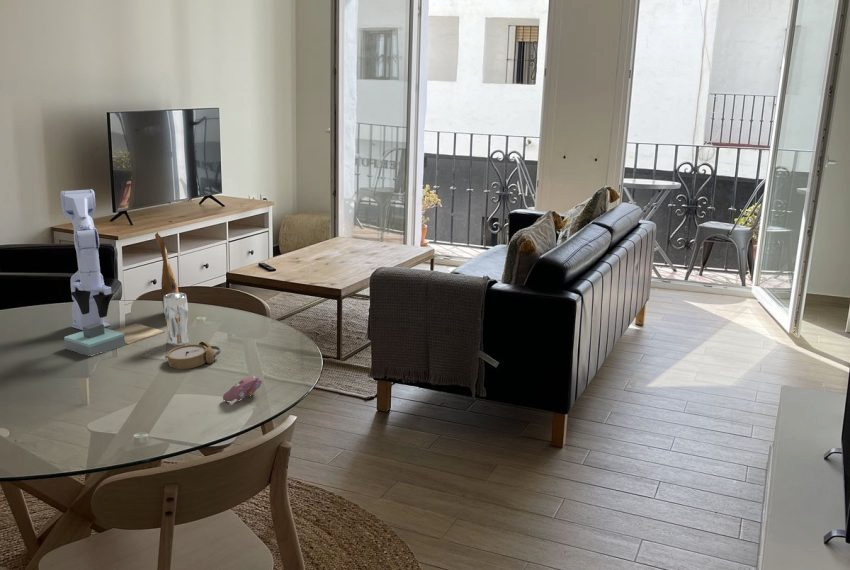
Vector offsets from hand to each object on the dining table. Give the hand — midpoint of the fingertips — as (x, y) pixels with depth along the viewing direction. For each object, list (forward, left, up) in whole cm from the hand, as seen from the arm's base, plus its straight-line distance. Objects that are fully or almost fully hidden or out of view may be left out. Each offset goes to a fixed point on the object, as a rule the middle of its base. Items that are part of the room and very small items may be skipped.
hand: (94, 315), depth 245 cm
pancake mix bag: (-6, +33, -10) cm, 35 cm away
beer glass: (+16, +17, -10) cm, 26 cm away
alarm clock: (+32, +9, -11) cm, 35 cm away
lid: (-1, 0, -7) cm, 7 cm away
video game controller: (+63, -2, -11) cm, 64 cm away
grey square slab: (-1, 0, -10) cm, 10 cm away
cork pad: (-2, +14, -10) cm, 17 cm away
